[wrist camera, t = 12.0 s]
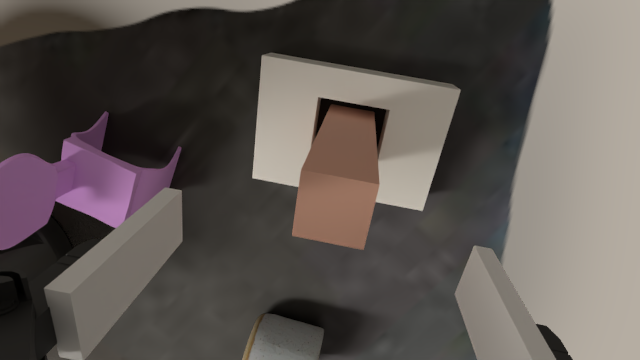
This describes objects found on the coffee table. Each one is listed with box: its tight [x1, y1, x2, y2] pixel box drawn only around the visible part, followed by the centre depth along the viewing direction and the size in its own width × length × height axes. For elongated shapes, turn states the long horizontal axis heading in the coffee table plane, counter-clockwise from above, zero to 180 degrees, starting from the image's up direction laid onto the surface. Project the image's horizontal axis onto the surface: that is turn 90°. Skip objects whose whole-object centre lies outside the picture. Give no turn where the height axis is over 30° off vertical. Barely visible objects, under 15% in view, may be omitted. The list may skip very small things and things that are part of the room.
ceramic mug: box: [242, 313, 324, 360], centre depth 42 cm, size 11×8×8 cm
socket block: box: [252, 53, 461, 211], centre depth 32 cm, size 16×11×3 cm
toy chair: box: [0, 111, 181, 250], centre depth 30 cm, size 8×9×15 cm
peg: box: [292, 104, 380, 250], centre depth 26 cm, size 4×4×16 cm
